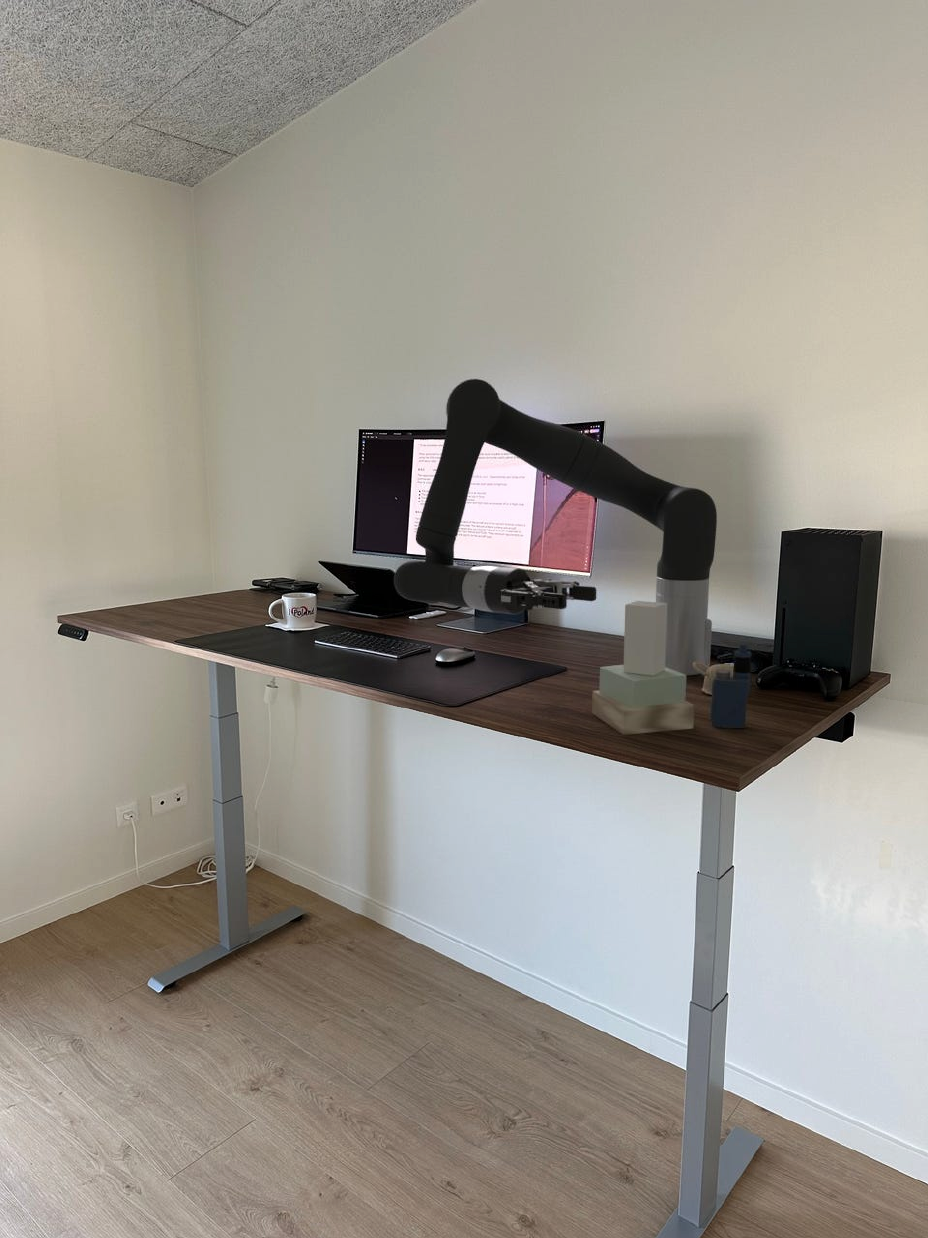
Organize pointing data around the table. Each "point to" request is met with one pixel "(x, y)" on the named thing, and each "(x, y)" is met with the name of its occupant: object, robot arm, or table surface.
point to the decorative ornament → (711, 674)
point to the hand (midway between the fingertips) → (580, 598)
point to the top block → (642, 687)
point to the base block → (642, 715)
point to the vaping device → (731, 692)
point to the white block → (645, 637)
